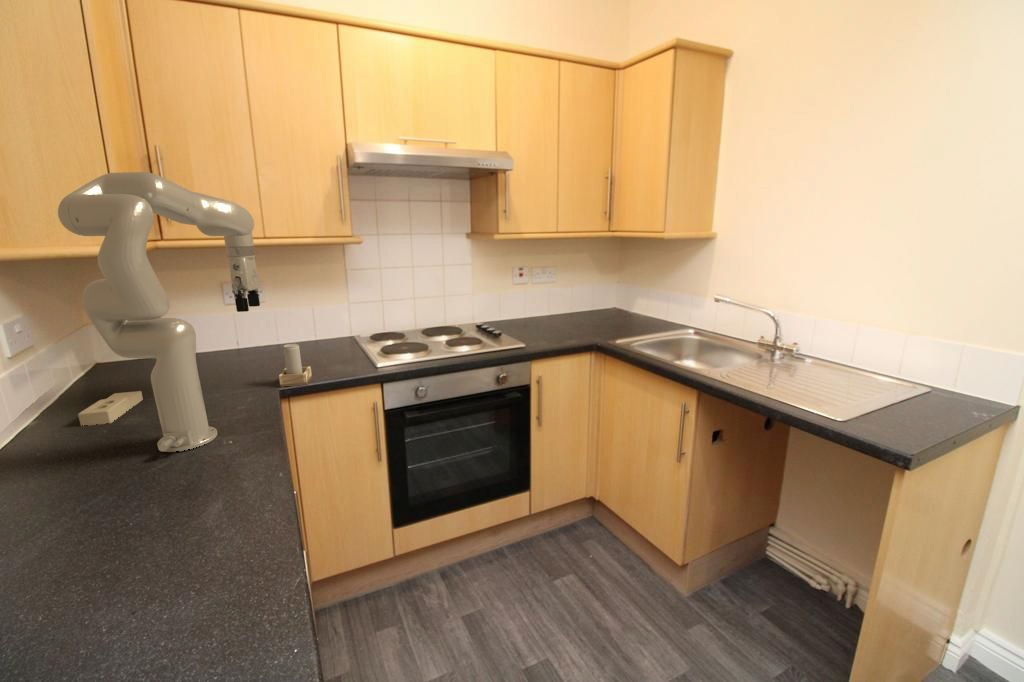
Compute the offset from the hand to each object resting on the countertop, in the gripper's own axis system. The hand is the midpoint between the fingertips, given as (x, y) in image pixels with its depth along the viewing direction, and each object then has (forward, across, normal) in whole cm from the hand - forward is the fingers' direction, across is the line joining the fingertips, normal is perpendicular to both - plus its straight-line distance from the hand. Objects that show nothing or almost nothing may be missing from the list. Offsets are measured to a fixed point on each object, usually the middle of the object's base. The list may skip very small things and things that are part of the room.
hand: (248, 308), depth 149 cm
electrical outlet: (+28, -10, +37) cm, 47 cm away
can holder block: (+26, +6, -10) cm, 29 cm away
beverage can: (+26, +6, -9) cm, 28 cm away
